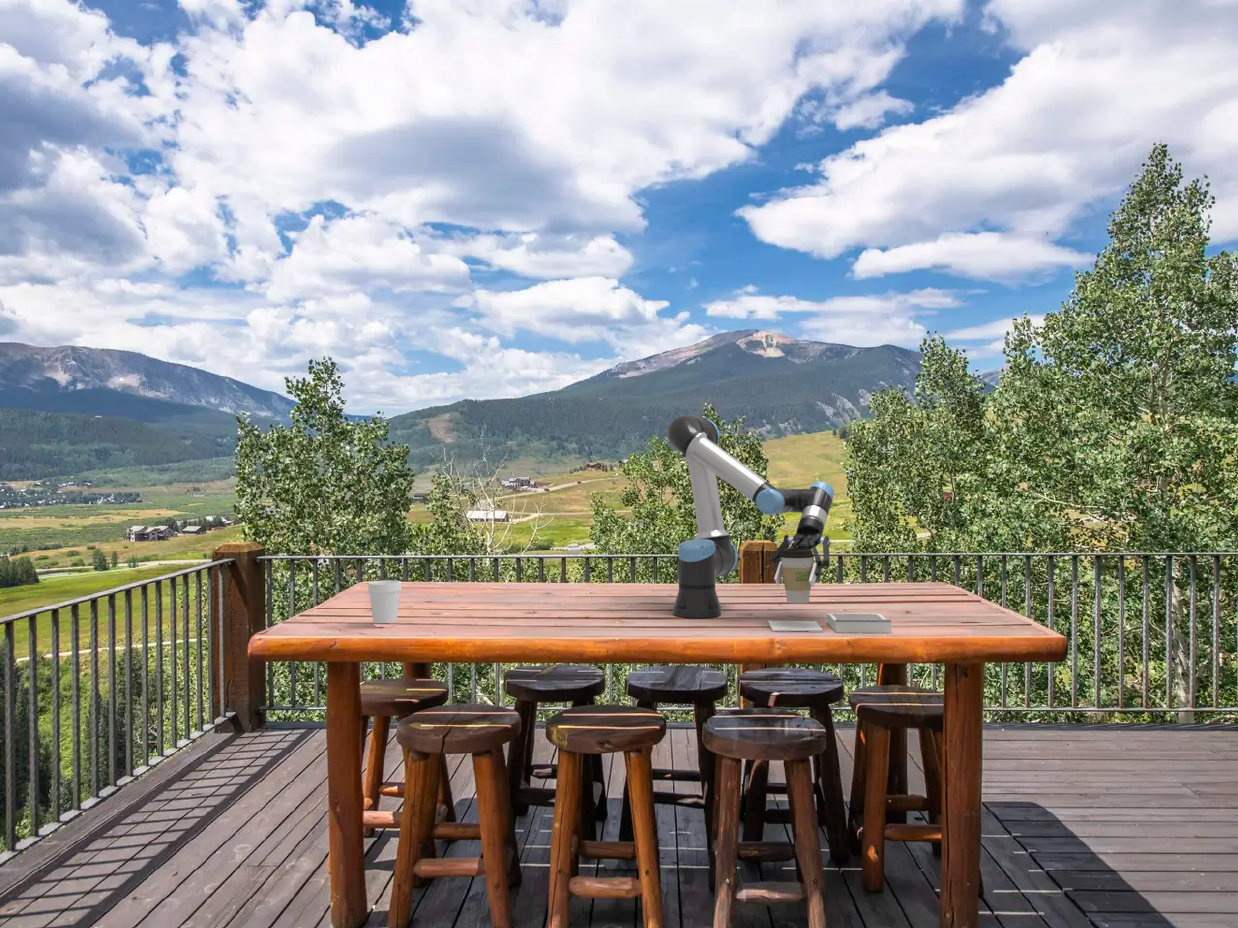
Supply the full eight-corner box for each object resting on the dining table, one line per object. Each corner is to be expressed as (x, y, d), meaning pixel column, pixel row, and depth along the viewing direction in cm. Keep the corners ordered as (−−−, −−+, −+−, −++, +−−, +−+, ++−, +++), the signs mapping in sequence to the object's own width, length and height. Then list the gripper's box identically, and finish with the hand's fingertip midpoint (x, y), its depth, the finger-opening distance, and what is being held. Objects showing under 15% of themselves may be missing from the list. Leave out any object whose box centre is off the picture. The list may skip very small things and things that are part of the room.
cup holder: (836, 632, 226) (836, 619, 226) (827, 622, 241) (827, 610, 241) (891, 633, 225) (891, 620, 225) (878, 623, 240) (878, 611, 240)
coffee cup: (816, 604, 229) (814, 551, 229) (780, 604, 231) (779, 551, 231) (814, 599, 238) (813, 548, 239) (780, 599, 240) (779, 548, 241)
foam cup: (374, 630, 235) (374, 585, 236) (363, 625, 243) (363, 582, 243) (406, 626, 241) (406, 582, 241) (394, 622, 248) (394, 579, 249)
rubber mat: (772, 631, 228) (772, 629, 229) (768, 622, 242) (768, 620, 242) (823, 632, 227) (823, 629, 227) (815, 623, 241) (815, 621, 241)
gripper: (851, 533, 242) (835, 593, 228) (780, 531, 254) (761, 588, 240) (845, 516, 237) (828, 576, 224) (773, 515, 249) (753, 572, 236)
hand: (793, 582), depth 232 cm, fingers closed on coffee cup, 10 cm apart
